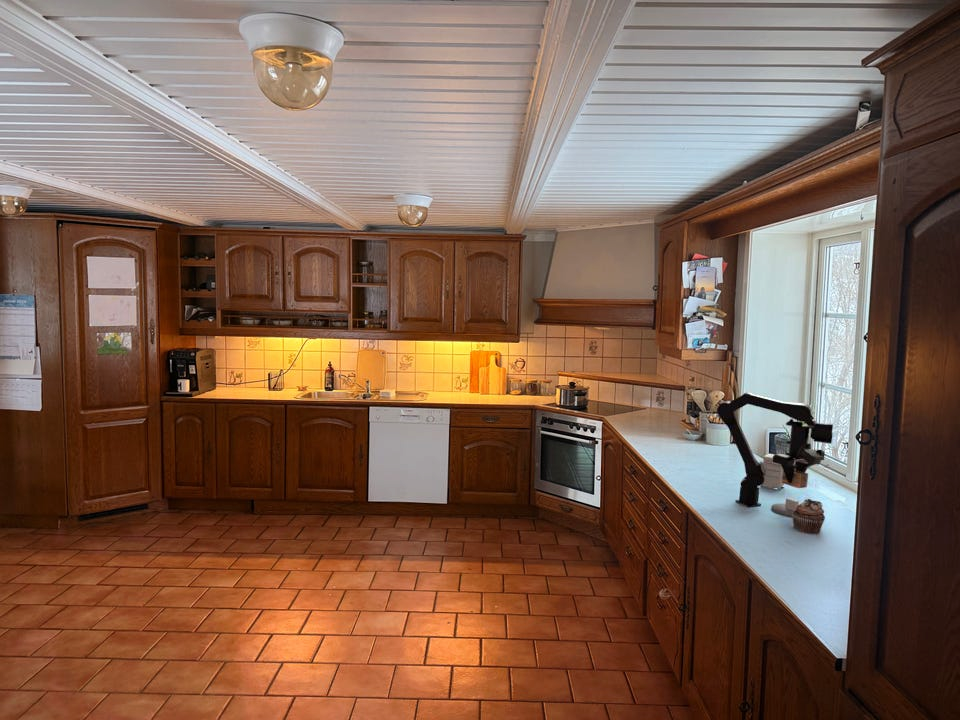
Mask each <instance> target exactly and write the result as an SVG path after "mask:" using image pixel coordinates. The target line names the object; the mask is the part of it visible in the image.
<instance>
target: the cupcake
mask: <svg viewBox="0 0 960 720" xmlns="http://www.w3.org/2000/svg"><path fill="white" fill-rule="evenodd" d="M823 506H824V505H823V504H822V502H821V501H818V500H812V499H810V498H808V499H805V500H804V501H803V502H802V503H799V505H798V506H797V507H796V510H795V511H793V512H792V516H793V517H792V524H793V529H794V530H795V531H797V532H800V533H803V534H808V535H818V534H820V532H821V530H822V527H823V524H824V522H825V520H826V516H825V511H824V508H823Z"/></svg>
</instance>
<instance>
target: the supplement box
mask: <svg viewBox="0 0 960 720" xmlns="http://www.w3.org/2000/svg"><path fill="white" fill-rule="evenodd" d="M774 455H775V454H773V453H767V454H766V455H763V459H762V462H763V465H764V468H765V469H766V470H767V472H766V478H765V481H764V483H763V484H762V485H760V486H761V487H762V486H763V487H762V488H766V487H769V488H768V489H771V488H777V489H780V488H781V487H782V486H783V485H784V486H785V484H784V483H782V476H783V468H782V466H781V464H778V463H775V462H772V459H773V456H774ZM781 489H782V488H781ZM781 489H780V490H781Z"/></svg>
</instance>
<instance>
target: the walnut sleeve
mask: <svg viewBox="0 0 960 720" xmlns="http://www.w3.org/2000/svg"><path fill="white" fill-rule="evenodd" d="M808 480H809V473H808V472H802V471H798V470H795V469H794V474H793V479H792V483H789V482H788V480H787V478H786V475H785V473H784V470H783V476H782V483H784V485H787V486H790V487H794V488H797V489H803V488H804V489H805V488H806V489H807V487H808Z"/></svg>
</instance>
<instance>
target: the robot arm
mask: <svg viewBox="0 0 960 720" xmlns="http://www.w3.org/2000/svg"><path fill="white" fill-rule="evenodd" d="M747 405H749V406H753V407H757V408H762V409H765V410H770V411H772V412H773V411H774V412H777V413H781V414H783V415H785V416H787V417H789V418H790V419H789V420H788V421H786V423H785V426H789V427H790V438H789V440H787V441H786V444H787V445H788V446H789V447H788V451H786V452H785V454H783V453H778V454H777V453H776V454H775V453H774V454H773V455H774V456H773V459H772V462H775V463H778V464H781V466H782V468H783V470H784V473H785V475H786V478H787V480H788V482H789V483H792V479H793V474H794V469H795V470H798V471H802V472H805V473H807V470H808V469H809V468H810V467H812V466H815V465H817V466H819V465H820V464H821V463H822V461H824V460H825V457H826V456H825V451H824V450H823V449H817V450H816V449H812V445H811V443H810V442H809V435H810V439H812V440H813V442H815V443H824V444H828V445H829V444H830V445H832V443H833V428H834V424H833V423H823V422H817V421H816V419H815V418H814V416H813V415H812V408H811V406H809V405H808V404H806V403H803V402H790V401H789V402H788V401H787V402H786V401H782V400H778V399H774V398H769V397H765V396H762V395H758V394H754V393H752V392H744V393H743V394H741V395H740V396H738V397H736V398H734V399H733V400H725V401H723V402H721V403H720V404H719V405H718V406H717V408H716V412H717V415H718V416H719V418H720V419H721V421H722V422H723V424H724V425H725V426H726V427H727V428H728V430H729V432H730V435H731V437H732V439H733V442H734V443H735V446H736V448H737V450H738V452H739V454H740V456H741V459H742V462H743V464H744V469H745V471H744V472H745V476H744V477H743V478H742V480H741V482H740V487H739V498H738V499H736V500H735V503H738V504H741V505H743V506H746V507H749V508H750V507H759V506H762V504H761V502H759V495H760V486H761V485H762V484H763V483H764V481H765V478H766V472H767V470H766V469H765V468H764V465H763V460H762V461H758V460H757V459H756V457H755V455H754V454H753V451H752V449H751V446H750V445H749V442H748V440H747V438H746V435H745V433H744V431H743V429H742V427H741V425H740V422H739V415H738V411H737V410H739V409H741V408H743V407H744V406H747ZM804 423H805V424H804ZM810 429H811V430H810Z"/></svg>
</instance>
